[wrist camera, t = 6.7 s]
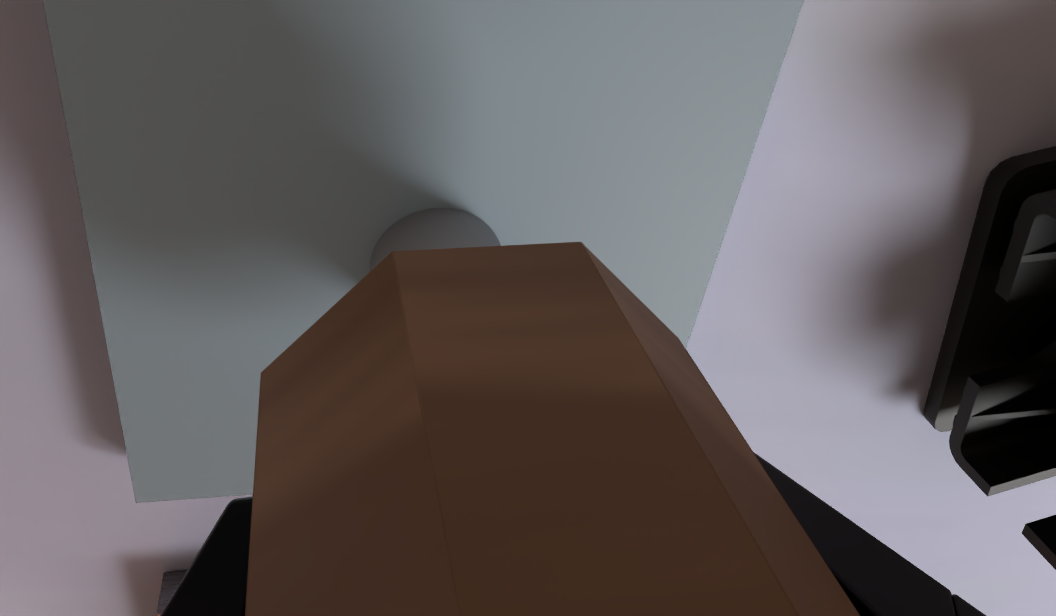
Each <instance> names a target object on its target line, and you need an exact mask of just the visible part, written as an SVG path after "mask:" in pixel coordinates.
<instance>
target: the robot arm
mask: <svg viewBox="0 0 1056 616" xmlns="http://www.w3.org/2000/svg"><path fill="white" fill-rule="evenodd" d="M753 453H754V452H753ZM754 454H755V453H754ZM755 456H756V457H757V459H758V460H759V462H760V463H761V465H762V466H763V468H764V470H765V471H766V473H767V474H768V476H769V477H770V479H771V480H772V482H773V483H774V485H775V486H776V488H777V489H778V491H779V492H780V494H781V495H782V497H783V499H784V500H785V502H786V503H787V505H788V506H789V508H790V509H791V511H792V512H793V514H794V515H795V517H796V518H797V520H798V521H799V523H800V525H801V526H802V528H803V529H804V531H805V532H806V534H807V535H808V537H809V538H810V540H811V541H812V543H813V544H814V546H815V547H816V549H817V551H818V552H819V554H820V555H821V557H822V558H823V560H824V561H825V563H826V564H827V566H828V567H829V569H830V570H831V572H832V573H833V575H834V577H835V578H836V580H837V581H838V583H839V584H840V586H841V587H842V589H843V590H844V592H845V593H846V595H847V596H848V598H849V599H850V601H851V602H852V604H853V606H854V607H855V609H856V610H857V612H858V613H859V615H860V616H986V615H985V614H983V613H982V612H980V611H979V610H977V609H976V608H974V607H973V606H972V605H970V604H969V603H967V602H966V601H965V600H963V599H962V598H960V597H959V596H957V595H955V594H953V595H951V592H950V590H949V589H947V588H946V587H944V586H943V585H941V584H940V583H939V582H937V581H936V580H934V579H933V578H932V577H930V576H929V575H927V574H926V573H924V572H923V571H922V570H920V569H919V568H917V567H916V566H914V565H913V564H912V563H910V562H909V561H907V560H906V559H905V558H903V557H902V556H900V555H899V554H897V553H896V552H895V551H893V550H892V549H890V548H889V547H888V546H886V545H885V544H883V543H882V542H880V541H879V540H878V539H876V538H875V537H873V536H872V535H870V534H869V533H868V532H866V531H865V530H863V529H862V528H861V527H859V526H858V525H856V524H855V523H853V522H852V521H851V520H849V519H848V518H846V517H845V516H843V515H842V514H841V513H839V512H838V511H836V510H835V509H834V508H832V507H831V506H829V505H828V504H826V503H825V502H824V501H822V500H821V499H819V498H818V497H816V496H815V495H814V494H812V493H811V492H809V491H808V490H807V489H805V488H804V487H802V486H801V485H799V484H798V483H797V482H795V481H794V480H792V479H791V478H789V477H788V476H787V475H785V474H784V473H782V472H781V471H780V470H778V469H777V468H775V467H774V466H772V465H771V464H770V463H768V462H767V461H765V460H764V459H762V458H761V457H760V456H758V455H757V454H755ZM252 500H253V497H247V498H238V499H234V500H232V501H231V502H230V503H229V504H228V505H227V507H226V508H225V510H224V511H223V513H222V515H221V516H220V518H219V520H218V521H217V523H216V525H215V526H214V528H213V530H212V531H211V533H210V534H209V536H208V538H207V539H206V541H205V543H204V544H203V546H202V548H201V549H200V551H199V552H198V554H197V556H196V557H195V559H194V561H193V562H192V564H191V566H190V567H189V569H188V571H187V572H186V574H185V575H184V577H183V579H182V580H181V582H180V584H179V585H178V587H177V589H176V590H175V592H174V594H173V595H172V597H171V598H170V600H169V602H168V603H167V605H166V607H165V608H164V610H163V612H162V613H161V615H160V616H245V608H246V592H247V577H248V561H249V546H250V531H251V515H252Z"/></svg>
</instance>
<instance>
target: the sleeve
mask: <svg viewBox="0 0 1056 616" xmlns="http://www.w3.org/2000/svg"><path fill="white" fill-rule="evenodd" d="M245 616H860V615H859V613H858V612H857V610H856V609H855V607H854V606H853V604H852V602H851V601H850V599H849V598H848V596H847V595H846V593H845V592H844V590H843V589H842V587H841V586H840V584H839V583H838V581H837V580H836V578H835V577H834V575H833V573H832V572H831V570H830V569H829V567H828V566H827V564H826V563H825V561H824V560H823V558H822V557H821V555H820V554H819V552H818V551H817V549H816V547H815V546H814V544H813V543H812V541H811V540H810V538H809V537H808V535H807V534H806V532H805V531H804V529H803V528H802V526H801V525H800V523H799V521H798V520H797V518H796V517H795V515H794V514H793V512H792V511H791V509H790V508H789V506H788V505H787V503H786V502H785V500H784V499H783V497H782V495H781V494H780V492H779V491H778V489H777V488H776V486H775V485H774V483H773V482H772V480H771V479H770V477H769V476H768V474H767V473H766V471H765V470H764V468H763V466H762V465H761V463H760V462H759V460H758V459H757V457H756V456H755V454H754V453H753V451H752V450H751V448H750V447H749V445H748V444H747V442H746V440H745V439H744V437H743V436H742V434H741V433H740V431H739V430H738V428H737V427H736V425H735V424H734V422H733V421H732V419H731V418H730V416H729V414H728V413H727V411H726V410H725V408H724V407H723V405H722V404H721V402H720V401H719V399H718V398H717V396H716V395H715V393H714V392H713V390H712V389H711V387H710V385H709V384H708V382H707V381H706V379H705V378H704V376H703V375H702V373H701V372H700V370H699V369H698V367H697V366H696V364H695V363H694V361H693V359H692V358H691V356H690V355H689V353H688V352H687V350H686V349H685V347H684V346H683V344H682V343H681V341H680V340H679V338H678V337H677V336H676V335H675V334H674V333H673V332H672V331H671V330H670V329H669V328H668V327H667V326H666V325H665V324H664V323H663V322H662V321H661V320H660V319H659V318H658V317H657V316H656V315H655V314H654V313H653V312H652V311H651V310H650V309H649V308H648V307H647V306H646V305H645V304H644V303H642V302H641V301H640V300H639V299H638V298H637V297H636V296H635V295H634V294H633V293H632V292H631V291H630V290H629V289H628V288H627V287H626V286H625V285H624V284H623V283H622V282H621V281H620V280H619V279H618V278H617V277H616V276H615V275H614V274H613V273H612V272H611V271H610V270H609V269H608V268H607V267H606V266H605V265H604V264H603V263H602V262H601V261H600V260H599V259H598V258H597V257H596V256H595V255H594V254H593V253H592V252H591V251H590V250H589V249H588V248H587V247H586V246H585V245H584V244H583V243H582V242H581V241H580V242H564V243H545V244H525V245H506V246H486V247H466V248H447V249H427V250H408V251H392V252H391V253H390V254H389V255H388V256H387V257H386V258H384V259H383V260H382V261H381V262H380V263H379V264H378V265H377V266H376V267H375V268H374V269H373V270H371V271H370V272H369V273H368V274H367V275H366V276H365V277H364V278H363V279H362V280H361V281H360V282H358V283H357V284H356V285H355V286H354V287H353V288H352V289H351V290H350V291H349V292H348V293H347V294H345V295H344V296H343V297H342V298H341V299H340V300H339V301H338V302H337V303H336V304H335V305H334V306H332V307H331V308H330V309H329V310H328V311H327V312H326V313H325V314H324V315H323V316H322V317H321V318H319V319H318V320H317V321H316V322H315V323H314V324H313V325H312V326H311V327H310V328H309V329H308V330H306V331H305V332H304V333H303V334H302V335H301V336H300V337H299V338H298V339H297V340H296V341H295V342H293V343H292V344H291V345H290V346H289V347H288V348H287V349H286V350H285V351H284V352H283V353H281V354H280V355H279V356H278V357H277V358H276V359H275V360H274V361H273V362H272V363H271V364H270V365H268V366H267V367H266V368H265V369H264V370H263V371H262V372H261V377H260V392H259V407H258V423H257V438H256V454H255V469H254V484H253V500H252V515H251V531H250V546H249V561H248V577H247V592H246V608H245Z"/></svg>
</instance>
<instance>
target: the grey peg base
mask: <svg viewBox="0 0 1056 616" xmlns="http://www.w3.org/2000/svg"><path fill="white" fill-rule="evenodd" d="M803 1H804V0H43V4H44V9H45V15H46V20H47V26H48V31H49V36H50V42H51V47H52V53H53V58H54V63H55V69H56V74H57V80H58V85H59V90H60V96H61V101H62V107H63V112H64V117H65V123H66V128H67V134H68V139H69V144H70V150H71V155H72V161H73V166H74V171H75V177H76V182H77V188H78V193H79V198H80V204H81V209H82V215H83V220H84V225H85V231H86V236H87V242H88V247H89V252H90V258H91V263H92V269H93V274H94V279H95V285H96V290H97V296H98V301H99V306H100V312H101V317H102V323H103V328H104V333H105V339H106V344H107V350H108V355H109V360H110V366H111V371H112V377H113V382H114V387H115V393H116V398H117V404H118V409H119V414H120V420H121V425H122V431H123V436H124V441H125V447H126V452H127V458H128V463H129V468H130V474H131V479H132V485H133V490H134V495H135V501H136V503H140V502H153V501H167V500H181V499H195V498H209V497H223V496H237V495H251V494H253V484H254V469H255V454H256V438H257V423H258V407H259V392H260V377H261V372H262V371H263V370H264V369H265V368H266V367H267V366H268V365H270V364H271V363H272V362H273V361H274V360H275V359H276V358H277V357H278V356H279V355H280V354H281V353H283V352H284V351H285V350H286V349H287V348H288V347H289V346H290V345H291V344H292V343H293V342H295V341H296V340H297V339H298V338H299V337H300V336H301V335H302V334H303V333H304V332H305V331H306V330H308V329H309V328H310V327H311V326H312V325H313V324H314V323H315V322H316V321H317V320H318V319H319V318H321V317H322V316H323V315H324V314H325V313H326V312H327V311H328V310H329V309H330V308H331V307H332V306H334V305H335V304H336V303H337V302H338V301H339V300H340V299H341V298H342V297H343V296H344V295H345V294H347V293H348V292H349V291H350V290H351V289H352V288H353V287H354V286H355V285H356V284H357V283H358V282H360V281H361V280H362V279H363V278H364V277H365V276H366V275H367V274H368V273H369V272H370V271H371V270H373V269H374V268H375V267H376V266H377V265H378V264H379V263H380V262H381V261H382V260H383V259H384V258H386V257H387V256H388V255H389V254H390V253H391V252H392V251H408V250H427V249H447V248H466V247H486V246H506V245H525V244H545V243H564V242H580V241H581V242H582V243H583V244H584V245H585V246H586V247H587V248H588V249H589V250H590V251H591V252H592V253H593V254H594V255H595V256H596V257H597V258H598V259H599V260H600V261H601V262H602V263H603V264H604V265H605V266H606V267H607V268H608V269H609V270H610V271H611V272H612V273H613V274H614V275H615V276H616V277H617V278H618V279H619V280H620V281H621V282H622V283H623V284H624V285H625V286H626V287H627V288H628V289H629V290H630V291H631V292H632V293H633V294H634V295H635V296H636V297H637V298H638V299H639V300H640V301H641V302H642V303H644V304H645V305H646V306H647V307H648V308H649V309H650V310H651V311H652V312H653V313H654V314H655V315H656V316H657V317H658V318H659V319H660V320H661V321H662V322H663V323H664V324H665V325H666V326H667V327H668V328H669V329H670V330H671V331H672V332H673V333H674V334H675V335H676V336H677V337H678V338H679V340H680V341H681V343H682V344H683V346H684V347H685V349H686V347H687V344H688V341H689V338H690V335H691V332H692V329H693V327H694V324H695V321H696V318H697V315H698V312H699V309H700V306H701V303H702V300H703V297H704V294H705V291H706V288H707V285H708V282H709V279H710V276H711V273H712V270H713V267H714V264H715V261H716V258H717V255H718V253H719V250H720V247H721V244H722V241H723V238H724V235H725V232H726V229H727V226H728V223H729V220H730V217H731V214H732V211H733V208H734V205H735V202H736V199H737V196H738V193H739V190H740V187H741V184H742V181H743V179H744V176H745V173H746V170H747V167H748V164H749V161H750V158H751V155H752V152H753V149H754V146H755V143H756V140H757V137H758V134H759V131H760V128H761V125H762V122H763V119H764V116H765V113H766V110H767V107H768V105H769V102H770V99H771V96H772V93H773V90H774V87H775V84H776V81H777V78H778V75H779V72H780V69H781V66H782V63H783V60H784V57H785V54H786V51H787V48H788V45H789V42H790V39H791V36H792V33H793V31H794V28H795V25H796V22H797V19H798V16H799V13H800V10H801V7H802V4H803Z"/></svg>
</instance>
